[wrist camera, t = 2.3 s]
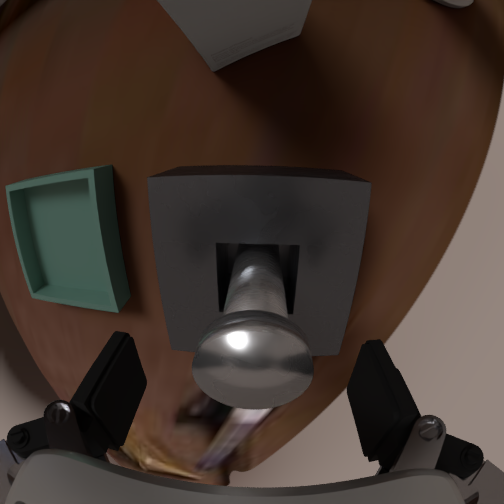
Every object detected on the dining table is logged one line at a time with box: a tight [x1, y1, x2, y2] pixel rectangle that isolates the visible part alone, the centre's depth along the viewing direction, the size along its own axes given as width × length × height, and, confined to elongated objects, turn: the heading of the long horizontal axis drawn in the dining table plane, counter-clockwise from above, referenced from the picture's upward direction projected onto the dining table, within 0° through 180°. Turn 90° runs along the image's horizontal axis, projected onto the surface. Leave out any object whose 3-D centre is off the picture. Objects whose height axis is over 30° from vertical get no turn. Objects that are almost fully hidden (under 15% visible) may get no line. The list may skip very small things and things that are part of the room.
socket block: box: [147, 165, 371, 356], centre depth 18 cm, size 12×12×6 cm
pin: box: [192, 243, 314, 409], centre depth 15 cm, size 4×4×12 cm
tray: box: [6, 165, 131, 313], centre depth 20 cm, size 12×12×3 cm
